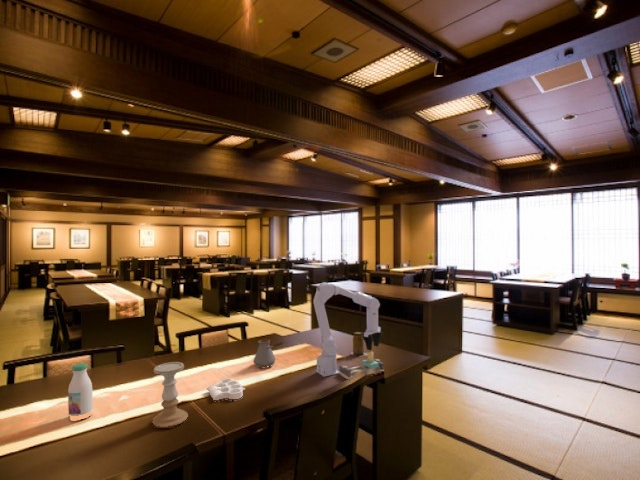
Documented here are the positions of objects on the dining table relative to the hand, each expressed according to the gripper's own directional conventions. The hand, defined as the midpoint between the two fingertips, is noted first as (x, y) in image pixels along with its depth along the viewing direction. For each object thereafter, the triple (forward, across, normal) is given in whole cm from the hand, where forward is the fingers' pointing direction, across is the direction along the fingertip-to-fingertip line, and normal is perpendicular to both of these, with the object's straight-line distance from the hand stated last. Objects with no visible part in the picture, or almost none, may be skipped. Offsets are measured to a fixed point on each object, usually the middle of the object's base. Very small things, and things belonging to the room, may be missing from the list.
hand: (372, 347), depth 184 cm
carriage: (+7, -5, -1) cm, 9 cm away
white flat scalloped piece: (+11, -61, +39) cm, 73 cm away
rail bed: (+10, -10, +1) cm, 14 cm away
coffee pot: (+11, -28, +44) cm, 53 cm away
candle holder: (+11, -89, +38) cm, 97 cm away
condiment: (+10, +15, +16) cm, 25 cm away
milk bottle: (+11, -106, +69) cm, 127 cm away
